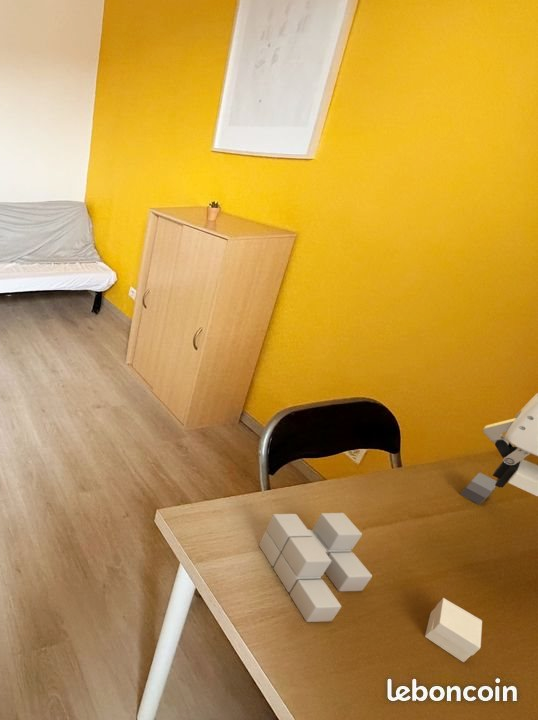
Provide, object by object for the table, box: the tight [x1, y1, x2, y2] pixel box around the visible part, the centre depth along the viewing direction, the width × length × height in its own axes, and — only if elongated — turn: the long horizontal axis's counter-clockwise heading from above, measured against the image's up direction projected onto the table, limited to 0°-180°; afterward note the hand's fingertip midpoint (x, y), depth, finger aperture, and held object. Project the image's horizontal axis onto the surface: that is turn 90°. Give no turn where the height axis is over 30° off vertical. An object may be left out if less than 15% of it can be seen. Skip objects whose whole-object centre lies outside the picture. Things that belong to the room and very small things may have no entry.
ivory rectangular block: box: [424, 597, 483, 663], centre depth 58 cm, size 5×4×4 cm
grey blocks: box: [460, 472, 497, 506], centre depth 80 cm, size 5×3×4 cm, turn 116°
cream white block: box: [507, 458, 538, 497], centre depth 59 cm, size 5×4×2 cm
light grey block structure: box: [258, 512, 373, 623], centre depth 64 cm, size 12×12×8 cm
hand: (523, 492), depth 60 cm, fingers closed on cream white block, 4 cm apart
